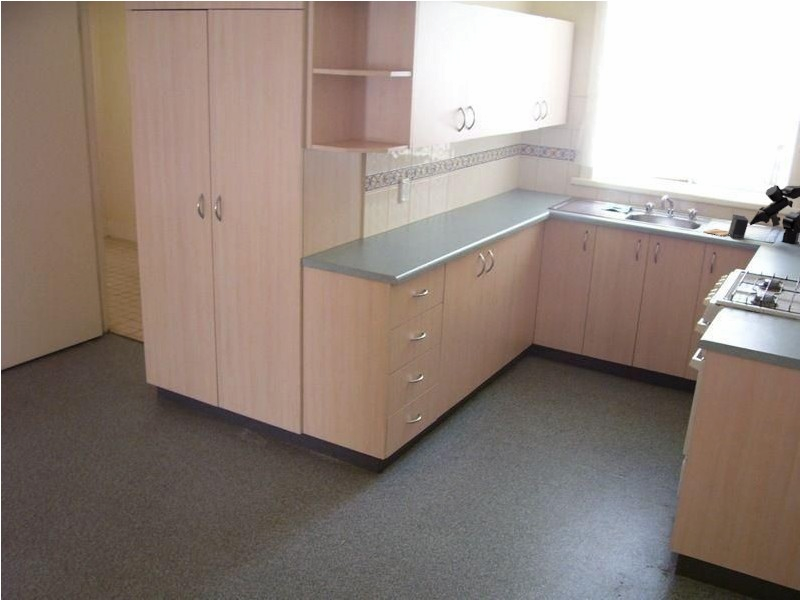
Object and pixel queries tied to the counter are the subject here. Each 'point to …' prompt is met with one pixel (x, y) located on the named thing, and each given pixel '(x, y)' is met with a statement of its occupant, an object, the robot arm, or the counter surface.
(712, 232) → the cork mat
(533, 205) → the counter surface
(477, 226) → the counter surface
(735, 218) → the small box
